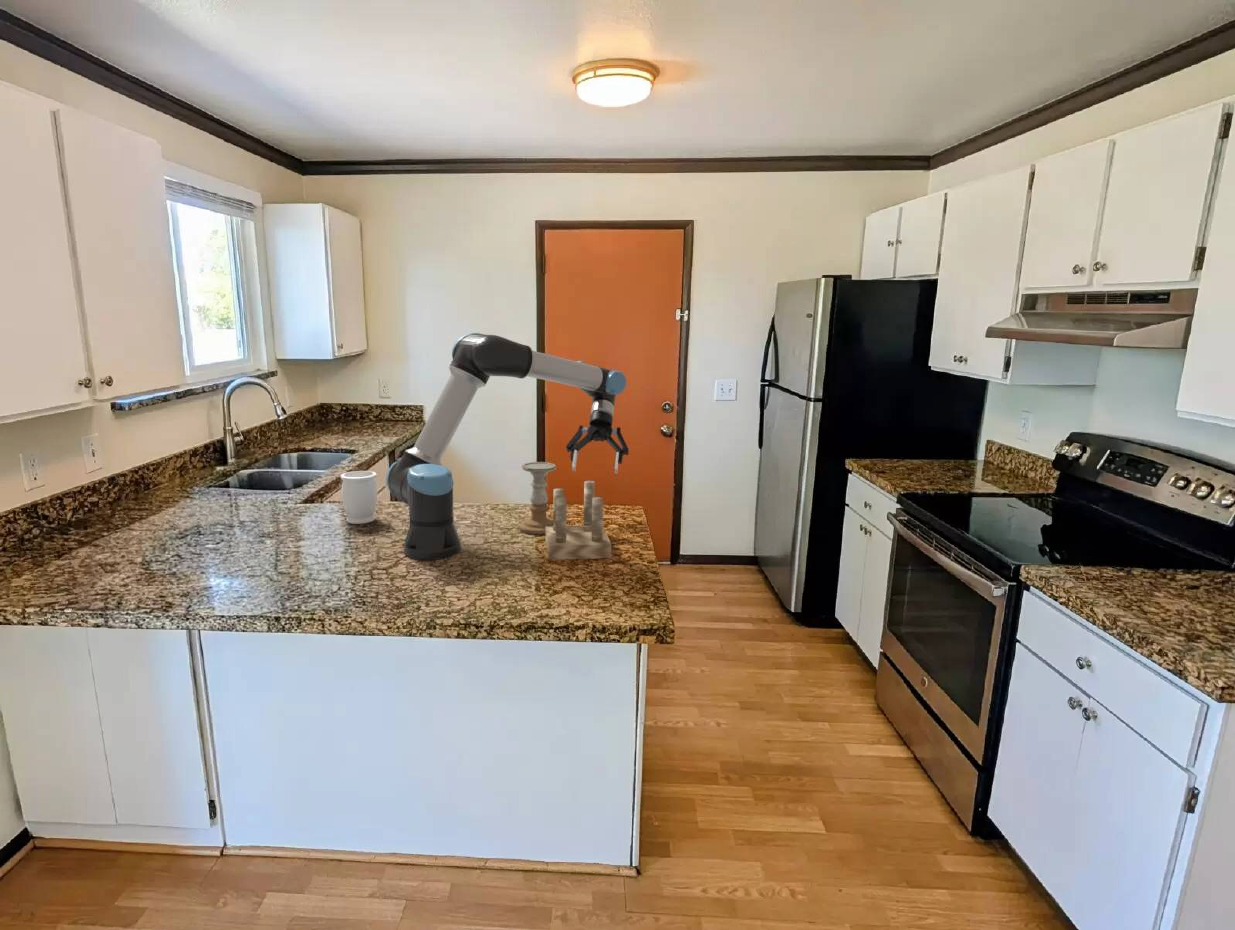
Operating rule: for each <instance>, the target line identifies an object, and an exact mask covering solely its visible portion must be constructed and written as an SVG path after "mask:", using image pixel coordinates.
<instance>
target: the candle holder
mask: <svg viewBox="0 0 1235 930" xmlns="http://www.w3.org/2000/svg"><path fill="white" fill-rule="evenodd" d="M521 469H522V470H523V471H525V472H529V473H530V475H531V476H532V479H533V480H532V481H531V482H530V485H531V486H532V490H531V494H530V496H529V501H530V503H531V504H530V505H529V509H528V510H530V511H531V516H530V517H527V518H525V519H524V520H522V521H520V523H518V529H519V531H520V532H522V533H525V534H528V535H539V536H540V535H545V528H546V526H553V518H550V517H547V511H548V510H549V506H548V505H547V502H548V500H549V498H548V495H547V491H546V486H547V485H548V482H546V479H545V478H546V476H547V475H548V473H550V472H553V471H555V470H557V465H556V464H554V463H552V462H547V461H546V462H545V461H533V462H525V463H523V464H522V465H521Z"/></svg>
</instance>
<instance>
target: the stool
mask: <svg viewBox="0 0 1235 930" xmlns="http://www.w3.org/2000/svg"><path fill="white" fill-rule="evenodd" d="M552 494H553V496H552V497H553V501H552V502H553V505H552V506H553V507H552V510H553V511H552V513H553V515H552V520H553V526H546V528H545V534H544V535H545V539H544V540H545V545H546V550H547V557H548V560H549V561H551V560H552V561H553V560H556V561H557V560H582V559H583V560H584V559H585V560H588V559H589V560H590V559H611V558H612V543H611V540H610V539H609V536H608V534H607V532H606V529H605V528H604V525H603V524H604V498H603V497H601V496H600V497H599V496H595V497H594V498H592V526H584V525H567V523H568V522H567V519H568V512H567V511H568V498H566V497H565V489H563V488H554V489H553V493H552Z"/></svg>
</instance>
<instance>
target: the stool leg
mask: <svg viewBox="0 0 1235 930" xmlns="http://www.w3.org/2000/svg"><path fill="white" fill-rule="evenodd" d="M595 483H596V482H595V481H594V480H585V481H584V483H583V487H584V488H583V490H584V491H583V526H592V498H594V497H596V496H595V495H596V493H595V492H596V490H595V489H596V484H595Z"/></svg>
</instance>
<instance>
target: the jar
mask: <svg viewBox="0 0 1235 930" xmlns="http://www.w3.org/2000/svg"><path fill="white" fill-rule="evenodd" d="M376 478H377V473H376V472H375V471H369V470H353V471H348V472H344V473H342V474H340V479H341V480H342V482H341V491H340V492H341V499H342V504H343V508H344V512H345V514H346V515H347V518H346V522H347V523H349V524H352V525H353V524H354V525H362V524H363V525H364V524H368V523H369V524H370V523H372V522H373V521H375V520H376V517H375V515H374V513H375V512H376V509H377V503H378V502H377V501H378V485H377V482H376Z"/></svg>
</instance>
